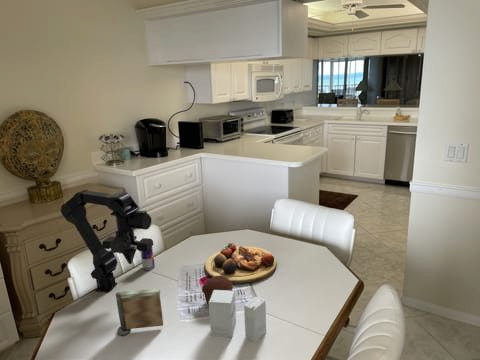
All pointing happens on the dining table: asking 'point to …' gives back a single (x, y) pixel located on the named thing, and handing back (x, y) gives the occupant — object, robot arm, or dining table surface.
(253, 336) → the skincare box
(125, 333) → the gate pivot base
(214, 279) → the muffin
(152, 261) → the energy drink
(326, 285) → the dining table surface
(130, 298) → the gate panel
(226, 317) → the supplement box
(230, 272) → the wooden plate with food
